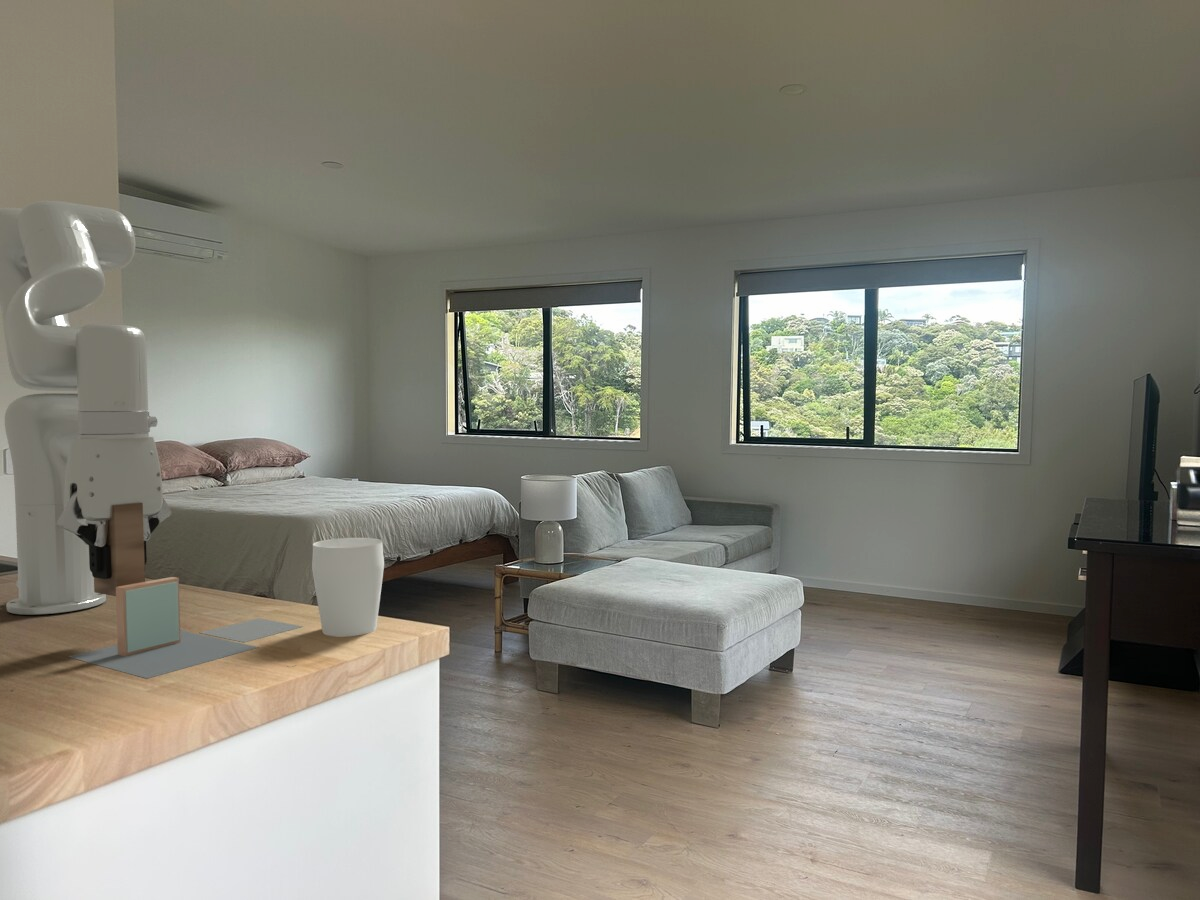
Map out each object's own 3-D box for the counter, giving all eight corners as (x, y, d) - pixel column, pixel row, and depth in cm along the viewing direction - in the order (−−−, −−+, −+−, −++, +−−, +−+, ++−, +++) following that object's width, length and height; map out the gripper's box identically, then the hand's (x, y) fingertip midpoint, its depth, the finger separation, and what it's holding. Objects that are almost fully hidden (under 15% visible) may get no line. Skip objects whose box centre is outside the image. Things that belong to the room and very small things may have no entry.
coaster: (199, 637, 112) (199, 632, 112) (259, 622, 120) (259, 618, 120) (244, 647, 107) (244, 642, 107) (303, 630, 115) (303, 626, 115)
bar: (94, 592, 107) (91, 503, 107) (122, 587, 110) (119, 500, 110) (117, 596, 105) (114, 505, 104) (145, 591, 108) (142, 502, 107)
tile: (117, 654, 102) (115, 586, 102) (173, 640, 108) (171, 576, 108) (125, 656, 101) (123, 588, 101) (181, 642, 107) (179, 578, 107)
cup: (310, 629, 116) (308, 540, 115) (379, 622, 119) (377, 535, 119) (316, 646, 107) (314, 550, 107) (390, 638, 111) (389, 545, 110)
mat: (67, 661, 101) (67, 656, 101) (179, 634, 113) (179, 629, 113) (147, 683, 93) (147, 678, 93) (259, 652, 105) (259, 647, 105)
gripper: (160, 424, 116) (164, 562, 117) (25, 427, 102) (31, 583, 102) (194, 425, 112) (198, 567, 113) (59, 428, 98) (65, 590, 99)
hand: (119, 573), depth 108 cm, fingers closed on bar, 3 cm apart
